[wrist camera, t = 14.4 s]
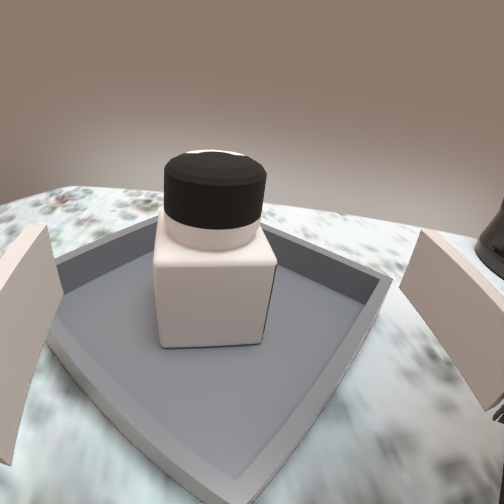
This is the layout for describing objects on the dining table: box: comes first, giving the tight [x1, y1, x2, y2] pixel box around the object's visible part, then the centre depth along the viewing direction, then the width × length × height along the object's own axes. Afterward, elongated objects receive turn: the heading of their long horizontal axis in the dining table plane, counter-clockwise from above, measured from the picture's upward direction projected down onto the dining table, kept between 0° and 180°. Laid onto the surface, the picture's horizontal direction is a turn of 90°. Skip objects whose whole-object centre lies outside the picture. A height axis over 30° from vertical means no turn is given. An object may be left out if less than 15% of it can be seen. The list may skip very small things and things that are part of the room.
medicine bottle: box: [153, 150, 277, 348], centre depth 21 cm, size 7×7×12 cm
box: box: [45, 216, 393, 504], centre depth 23 cm, size 22×22×4 cm
